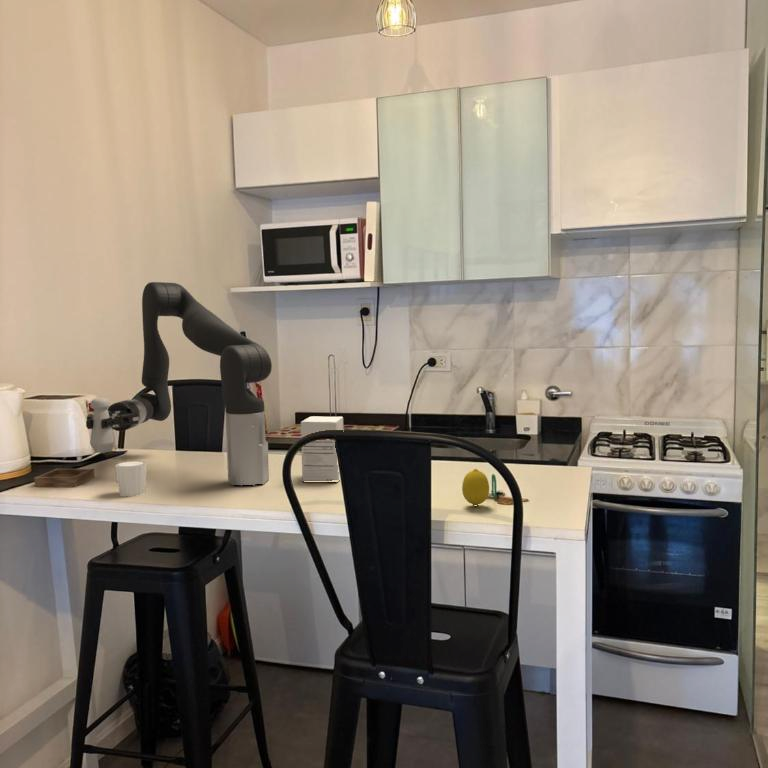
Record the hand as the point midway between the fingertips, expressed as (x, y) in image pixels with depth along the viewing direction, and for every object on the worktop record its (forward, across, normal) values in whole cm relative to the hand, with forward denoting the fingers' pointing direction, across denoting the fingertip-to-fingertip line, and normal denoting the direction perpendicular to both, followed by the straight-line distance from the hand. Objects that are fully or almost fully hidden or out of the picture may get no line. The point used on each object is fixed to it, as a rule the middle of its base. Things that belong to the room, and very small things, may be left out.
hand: (95, 424), depth 175 cm
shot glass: (+8, +12, +15) cm, 21 cm away
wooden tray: (-3, -10, +15) cm, 18 cm away
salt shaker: (-3, 0, +7) cm, 8 cm away
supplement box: (-7, +54, +16) cm, 56 cm away
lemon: (+18, +90, +16) cm, 93 cm away
